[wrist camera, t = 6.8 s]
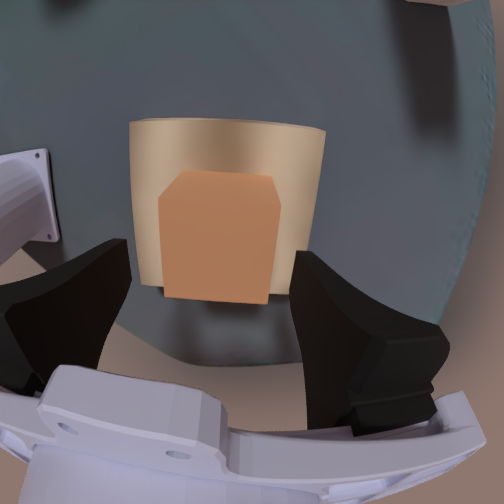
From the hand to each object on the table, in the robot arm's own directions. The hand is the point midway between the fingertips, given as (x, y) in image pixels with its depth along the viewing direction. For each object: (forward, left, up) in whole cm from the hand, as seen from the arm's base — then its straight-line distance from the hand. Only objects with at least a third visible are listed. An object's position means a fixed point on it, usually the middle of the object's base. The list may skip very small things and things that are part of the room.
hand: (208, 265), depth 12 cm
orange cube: (0, 0, -6) cm, 6 cm away
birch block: (0, 0, -9) cm, 9 cm away
